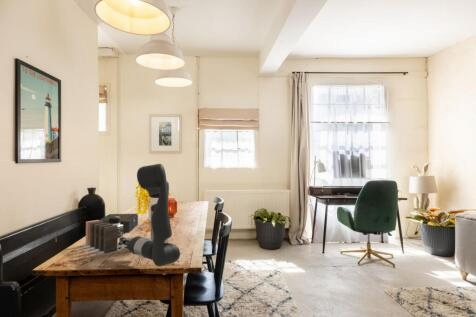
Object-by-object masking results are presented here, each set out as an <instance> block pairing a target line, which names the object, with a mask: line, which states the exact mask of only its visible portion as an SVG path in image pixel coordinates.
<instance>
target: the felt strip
mask: <svg viewBox="0 0 476 317" xmlns="http://www.w3.org/2000/svg"><path fill="white" fill-rule="evenodd" d="M80 246H81V247H83V248H85V249H88V250H89V251H92V252H94V253H96V254H99V255H101V256H105V255H109V254H113V253H117V252H122V251H123V249H122V248H121V249H118V250H117V251H114V252H109V253H104V251H99V249H94V247H92V248H91V247H90V245H89V246H87V245H86V243H85V244H82V245H80Z"/></svg>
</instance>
